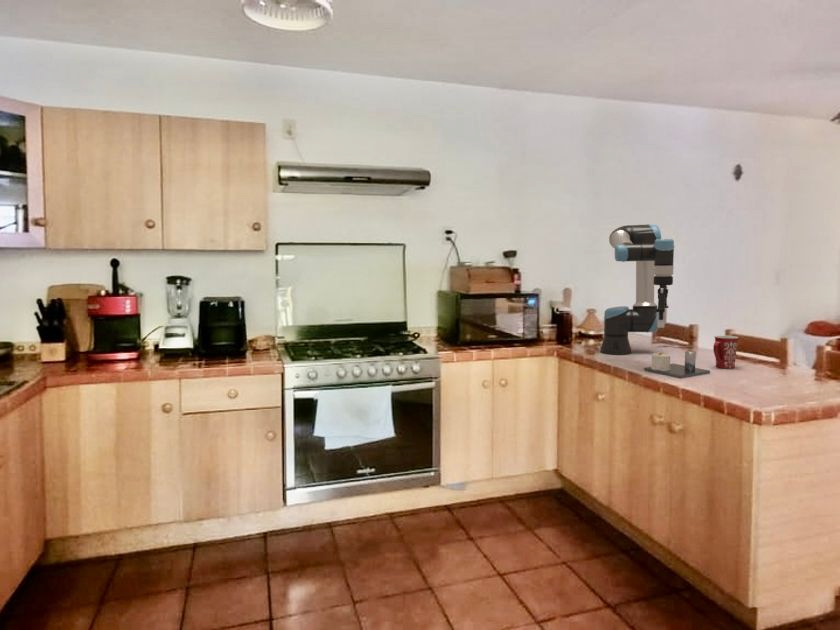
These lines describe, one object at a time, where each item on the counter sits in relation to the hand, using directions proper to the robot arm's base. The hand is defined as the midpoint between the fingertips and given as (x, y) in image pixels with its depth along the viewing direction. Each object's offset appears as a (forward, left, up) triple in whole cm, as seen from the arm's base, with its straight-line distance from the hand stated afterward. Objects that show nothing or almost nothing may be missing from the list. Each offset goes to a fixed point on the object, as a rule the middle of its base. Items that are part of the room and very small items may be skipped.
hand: (661, 325), depth 237 cm
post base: (+6, +3, -20) cm, 21 cm away
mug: (+10, +27, -20) cm, 35 cm away
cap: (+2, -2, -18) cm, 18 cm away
